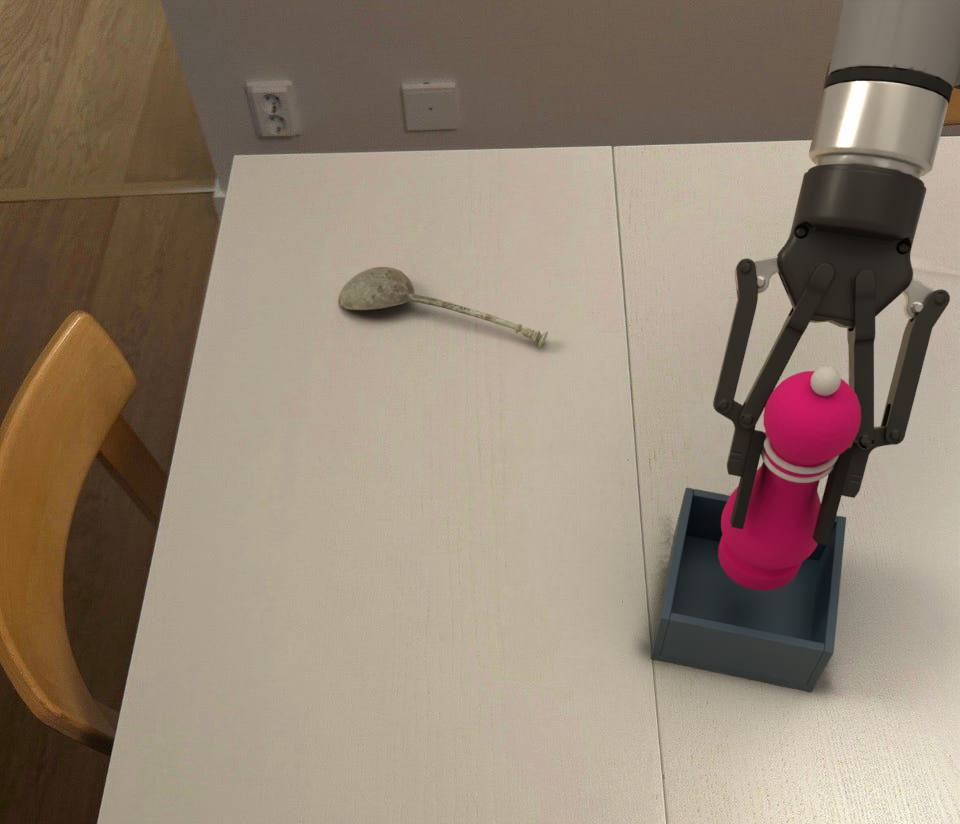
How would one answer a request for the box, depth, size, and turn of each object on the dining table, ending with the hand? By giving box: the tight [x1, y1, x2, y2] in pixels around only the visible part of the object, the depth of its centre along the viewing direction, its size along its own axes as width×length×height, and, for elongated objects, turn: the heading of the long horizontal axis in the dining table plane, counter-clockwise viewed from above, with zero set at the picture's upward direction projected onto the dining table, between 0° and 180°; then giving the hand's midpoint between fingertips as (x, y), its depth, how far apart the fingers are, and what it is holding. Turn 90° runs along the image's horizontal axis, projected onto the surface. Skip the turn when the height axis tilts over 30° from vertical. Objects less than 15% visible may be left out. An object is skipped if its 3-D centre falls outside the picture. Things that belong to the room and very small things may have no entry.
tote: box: [649, 487, 847, 693], centre depth 85 cm, size 13×13×6 cm
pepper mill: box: [718, 365, 861, 590], centre depth 73 cm, size 7×7×20 cm
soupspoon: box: [338, 266, 549, 349], centre depth 105 cm, size 22×3×7 cm
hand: (778, 532), depth 73 cm, fingers closed on pepper mill, 5 cm apart
